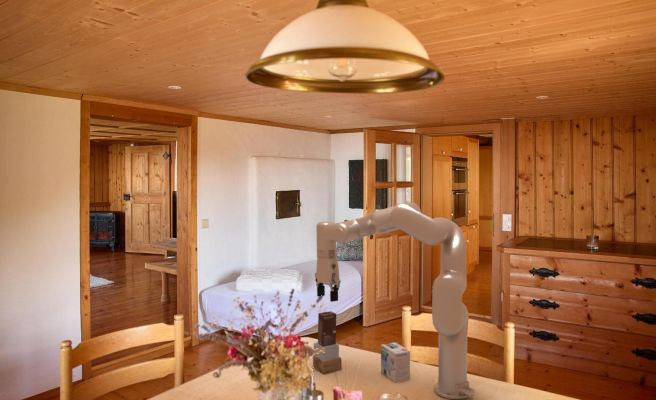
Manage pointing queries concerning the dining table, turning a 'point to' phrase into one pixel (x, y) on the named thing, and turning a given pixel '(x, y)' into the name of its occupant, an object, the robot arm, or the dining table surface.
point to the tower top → (327, 352)
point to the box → (326, 328)
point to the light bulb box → (395, 362)
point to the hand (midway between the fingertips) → (327, 298)
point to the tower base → (327, 365)
